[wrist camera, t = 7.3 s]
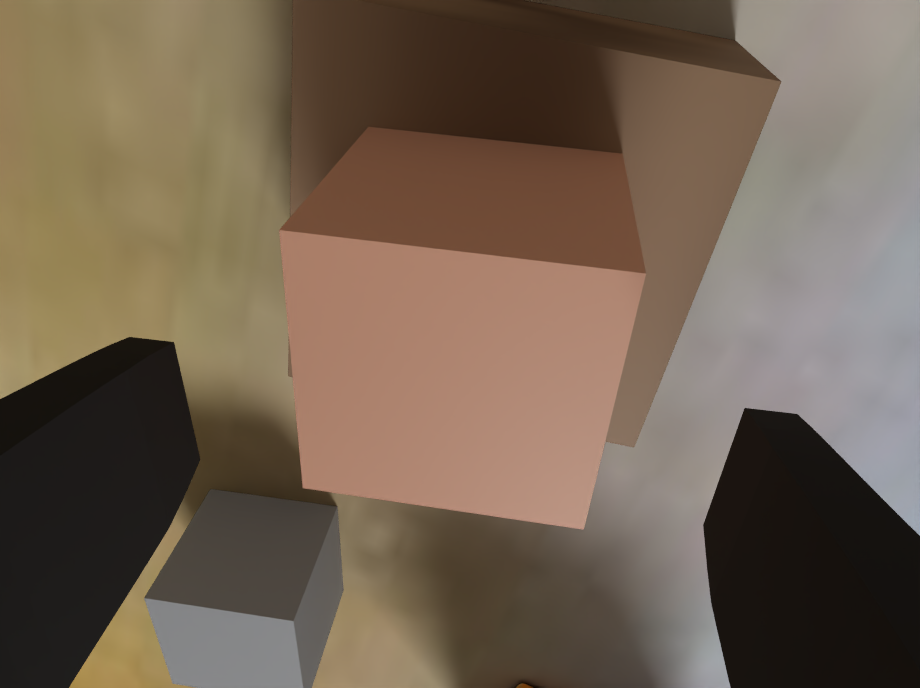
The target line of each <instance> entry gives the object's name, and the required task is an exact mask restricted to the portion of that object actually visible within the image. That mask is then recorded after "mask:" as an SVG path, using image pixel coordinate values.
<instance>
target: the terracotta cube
mask: <svg viewBox="0 0 920 688" xmlns="http://www.w3.org/2000/svg"><path fill="white" fill-rule="evenodd" d="M279 232H280V243H281V254H282V265H283V276H284V287H285V298H286V309H287V320H288V331H289V342H290V353H291V364H292V375H293V386H294V397H295V408H296V419H297V430H298V441H299V452H300V463H301V474H302V485H303V488H306V489H313V490H319V491H326V492H333V493H340V494H346V495H353V496H360V497H367V498H373V499H380V500H387V501H394V502H400V503H407V504H414V505H421V506H427V507H434V508H441V509H448V510H455V511H461V512H468V513H475V514H482V515H488V516H495V517H502V518H509V519H515V520H522V521H529V522H536V523H542V524H549V525H556V526H563V527H569V528H576V529H583V530H584V527H585V523H586V519H587V515H588V510H589V506H590V502H591V498H592V494H593V490H594V486H595V482H596V478H597V474H598V469H599V465H600V461H601V457H602V453H603V449H604V445H605V441H606V437H607V432H608V428H609V424H610V420H611V416H612V412H613V408H614V404H615V400H616V396H617V391H618V387H619V383H620V379H621V375H622V371H623V367H624V363H625V359H626V355H627V350H628V346H629V342H630V338H631V334H632V330H633V326H634V322H635V318H636V314H637V309H638V305H639V301H640V297H641V293H642V289H643V285H644V281H645V277H646V270H645V265H644V260H643V255H642V250H641V244H640V239H639V234H638V229H637V224H636V219H635V214H634V209H633V204H632V199H631V194H630V188H629V183H628V178H627V173H626V168H625V163H624V158H623V154H622V153H612V152H603V151H593V150H584V149H574V148H565V147H555V146H546V145H536V144H527V143H518V142H508V141H499V140H489V139H480V138H470V137H461V136H451V135H442V134H432V133H423V132H413V131H404V130H394V129H385V128H376V127H368V128H367V129H366V130H365V131H364V132H363V134H362V135H361V136H360V137H359V138H358V139H357V141H356V142H355V143H354V144H353V145H352V146H351V147H350V149H349V150H348V151H347V152H346V153H345V154H344V156H343V157H342V158H341V159H340V160H339V161H338V163H337V164H336V165H335V166H334V167H333V168H332V170H331V171H330V172H329V173H328V174H327V175H326V177H325V178H324V179H323V180H322V181H321V182H320V183H319V185H318V186H317V187H316V188H315V189H314V190H313V192H312V193H311V194H310V195H309V196H308V197H307V199H306V200H305V201H304V202H303V203H302V204H301V206H300V207H299V208H298V209H297V210H296V211H295V212H294V214H293V215H292V216H291V217H290V218H289V219H288V221H287V222H286V223H285V224H284V225H283V226H282V228H281V229H280V230H279Z"/></svg>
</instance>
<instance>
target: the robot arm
mask: <svg viewBox="0 0 920 688" xmlns="http://www.w3.org/2000/svg"><path fill="white" fill-rule="evenodd" d="M199 461H200V456H199V452H198V447H197V443H196V438H195V434H194V429H193V425H192V421H191V416H190V412H189V407H188V403H187V398H186V394H185V389H184V385H183V380H182V376H181V372H180V367H179V363H178V358H177V354H176V349H175V345H174V342H168V341H159V340H151V339H142V338H133V337H128V338H126V339H124V340H121V341H119V342H116V343H114V344H111V345H109V346H107V347H105V348H102V349H100V350H98V351H96V352H94V353H92V354H90V355H88V356H86V357H83V358H81V359H79V360H77V361H75V362H73V363H71V364H69V365H67V366H65V367H63V368H61V369H59V370H57V371H55V372H53V373H51V374H49V375H47V376H45V377H43V378H41V379H39V380H37V381H36V382H34V383H32V384H30V385H28V386H26V387H24V388H22V389H20V390H18V391H16V392H14V393H12V394H10V395H8V396H6V397H4V398H2V399H0V688H69V686H70V685H71V683H72V682H73V680H74V678H75V677H76V675H77V674H78V672H79V671H80V669H81V667H82V666H83V664H84V663H85V661H86V659H87V658H88V656H89V655H90V653H91V652H92V650H93V648H94V647H95V645H96V644H97V642H98V641H99V639H100V637H101V636H102V634H103V633H104V631H105V630H106V628H107V626H108V625H109V623H110V622H111V620H112V618H113V617H114V615H115V614H116V612H117V611H118V609H119V607H120V606H121V604H122V603H123V601H124V600H125V598H126V596H127V595H128V593H129V592H130V590H131V589H132V587H133V585H134V584H135V582H136V581H137V579H138V577H139V576H140V574H141V573H142V571H143V569H144V568H145V566H146V565H147V563H148V561H149V560H150V558H151V557H152V555H153V553H154V552H155V550H156V548H157V547H158V545H159V544H160V542H161V540H162V539H163V537H164V535H165V534H166V532H167V530H168V529H169V527H170V525H171V523H172V521H173V519H174V517H175V515H176V512H177V510H178V508H179V506H180V504H181V502H182V500H183V498H184V496H185V493H186V491H187V489H188V486H189V484H190V482H191V480H192V477H193V475H194V473H195V470H196V468H197V466H198V463H199ZM703 526H704V537H705V548H706V559H707V570H708V578H709V587H710V596H711V603H712V608H713V612H714V617H715V622H716V626H717V630H718V635H719V639H720V643H721V648H722V652H723V657H724V661H725V665H726V670H727V674H728V678H729V682H730V686H731V688H920V536H919V535H918V534H917V533H916V532H915V531H914V530H913V529H912V528H911V527H910V526H909V525H908V524H907V523H906V522H905V521H904V520H903V519H902V518H901V517H900V516H899V515H898V514H897V513H896V512H895V511H894V510H893V509H892V508H891V507H890V506H889V505H888V504H887V503H886V502H885V501H884V500H883V499H882V498H881V497H880V496H879V495H878V494H877V493H876V492H875V491H874V490H873V489H872V488H871V487H870V486H869V485H868V484H867V483H866V482H865V481H864V480H863V479H862V478H861V477H860V476H859V475H858V474H857V473H856V472H855V471H854V470H853V469H852V468H851V467H850V466H849V465H848V463H847V462H846V461H845V460H844V459H843V458H842V457H841V456H840V455H839V454H838V453H837V452H836V451H835V450H834V449H833V448H832V447H831V446H830V445H829V444H828V443H827V442H826V441H825V440H824V439H823V438H822V437H821V436H820V435H819V434H818V433H817V432H816V431H815V430H814V429H813V428H812V427H811V426H810V425H808V424H807V423H806V422H805V421H804V420H803V419H802V418H801V417H800V416H799V415H798V414H792V413H783V412H775V411H766V410H757V409H749V408H745V409H744V412H743V414H742V417H741V420H740V423H739V426H738V429H737V431H736V434H735V437H734V440H733V443H732V445H731V448H730V451H729V454H728V457H727V460H726V462H725V465H724V468H723V471H722V474H721V477H720V479H719V482H718V485H717V488H716V491H715V494H714V496H713V499H712V502H711V505H710V508H709V511H708V513H707V516H706V519H705V522H704V525H703Z"/></svg>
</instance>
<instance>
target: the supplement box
mask: <svg viewBox="0 0 920 688" xmlns="http://www.w3.org/2000/svg"><path fill="white" fill-rule="evenodd" d="M516 688H533V687H531V686H528V685H526V684H523V683H521V684H519V685H518V686H517V687H516Z"/></svg>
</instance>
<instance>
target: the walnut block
mask: <svg viewBox="0 0 920 688" xmlns="http://www.w3.org/2000/svg"><path fill="white" fill-rule="evenodd" d="M780 84H781V81H780V80H779V79H778V78H777V77H776V76H775V75H773V74H772V73H771V72H770V71H769V70H768V69H767V68H766V67H764V66H763V65H762V64H761V63H760V62H759V61H758V60H757V59H755V58H754V57H753V56H752V55H751V54H750V53H749V52H748V51H747V50H745V49H744V48H743V47H742V46H741V45H740V44H739V43H738V42H736V41H735V40H730V39H725V38H720V37H714V36H709V35H704V34H698V33H693V32H688V31H683V30H677V29H672V28H667V27H662V26H656V25H651V24H646V23H640V22H635V21H630V20H625V19H619V18H614V17H609V16H604V15H598V14H593V13H588V12H583V11H577V10H572V9H567V8H561V7H556V6H551V5H546V4H540V3H535V2H530V1H525V0H293V30H292V111H291V192H290V217H291V216H292V215H293V214H294V212H295V211H296V210H297V209H298V208H299V207H300V206H301V204H302V203H303V202H304V201H305V200H306V199H307V197H308V196H309V195H310V194H311V193H312V192H313V190H314V189H315V188H316V187H317V186H318V185H319V183H320V182H321V181H322V180H323V179H324V178H325V177H326V175H327V174H328V173H329V172H330V171H331V170H332V168H333V167H334V166H335V165H336V164H337V163H338V161H339V160H340V159H341V158H342V157H343V156H344V154H345V153H346V152H347V151H348V150H349V149H350V147H351V146H352V145H353V144H354V143H355V142H356V141H357V139H358V138H359V137H360V136H361V135H362V134H363V132H364V131H365V130H366V129H367V128H368V127H376V128H385V129H394V130H404V131H413V132H423V133H432V134H442V135H451V136H461V137H470V138H480V139H489V140H499V141H508V142H518V143H527V144H536V145H546V146H555V147H565V148H574V149H584V150H593V151H603V152H612V153H622V154H623V158H624V163H625V168H626V173H627V178H628V183H629V188H630V194H631V199H632V204H633V209H634V214H635V219H636V224H637V229H638V234H639V239H640V244H641V250H642V255H643V260H644V265H645V270H646V277H645V281H644V285H643V289H642V293H641V297H640V301H639V305H638V309H637V314H636V318H635V322H634V326H633V330H632V334H631V338H630V342H629V346H628V350H627V355H626V359H625V363H624V367H623V371H622V375H621V379H620V383H619V387H618V391H617V396H616V400H615V404H614V408H613V412H612V416H611V420H610V424H609V428H608V432H607V437H606V441H605V442H610V443H615V444H620V445H625V446H630V447H634V446H635V444H636V441H637V439H638V437H639V434H640V432H641V429H642V427H643V424H644V422H645V419H646V417H647V414H648V412H649V409H650V407H651V404H652V402H653V399H654V397H655V394H656V392H657V389H658V387H659V384H660V382H661V379H662V377H663V374H664V372H665V369H666V367H667V364H668V362H669V360H670V357H671V355H672V352H673V350H674V347H675V345H676V342H677V340H678V337H679V335H680V332H681V330H682V327H683V325H684V322H685V320H686V317H687V315H688V312H689V310H690V307H691V305H692V302H693V300H694V297H695V295H696V292H697V290H698V288H699V285H700V283H701V280H702V278H703V275H704V273H705V270H706V268H707V265H708V263H709V260H710V258H711V255H712V253H713V250H714V248H715V245H716V243H717V240H718V238H719V235H720V233H721V230H722V228H723V225H724V223H725V220H726V218H727V215H728V213H729V211H730V208H731V206H732V203H733V201H734V198H735V196H736V193H737V191H738V188H739V186H740V183H741V181H742V178H743V176H744V173H745V171H746V168H747V166H748V163H749V161H750V158H751V156H752V153H753V151H754V148H755V146H756V143H757V141H758V138H759V136H760V134H761V131H762V129H763V126H764V124H765V121H766V119H767V116H768V114H769V111H770V109H771V106H772V104H773V101H774V99H775V96H776V94H777V91H778V89H779V86H780ZM288 376H290V377H293V375H292V364H291V353H290V342H289V354H288Z"/></svg>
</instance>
